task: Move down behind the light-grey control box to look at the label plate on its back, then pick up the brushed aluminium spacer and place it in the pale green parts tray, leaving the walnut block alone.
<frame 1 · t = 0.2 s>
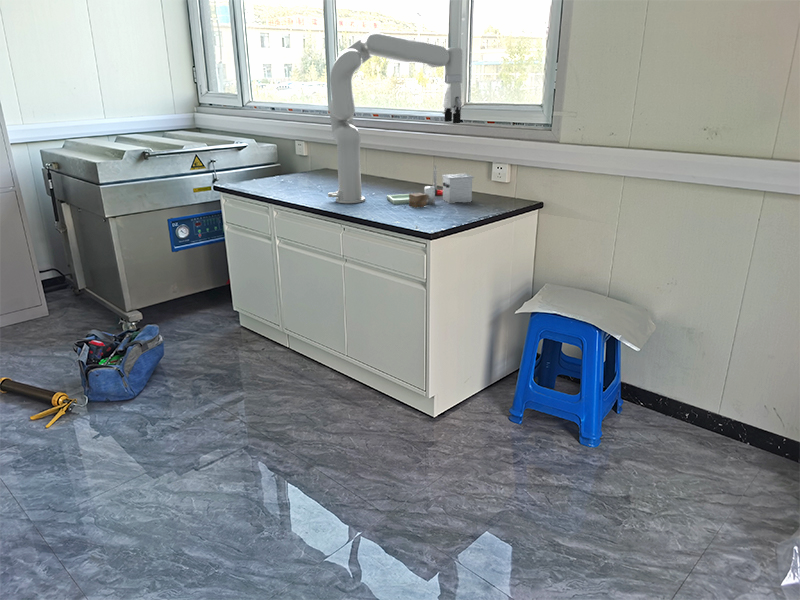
hand: (452, 122, 249), 31 cm above the counter, tool pointing down, fingers open, 9 cm apart
red base rod stand: (435, 193, 263), on the counter
walnut block: (417, 206, 238), on the counter
spacer: (429, 203, 242), on the counter
parts tray: (402, 201, 248), on the counter
control box: (456, 200, 247), on the counter
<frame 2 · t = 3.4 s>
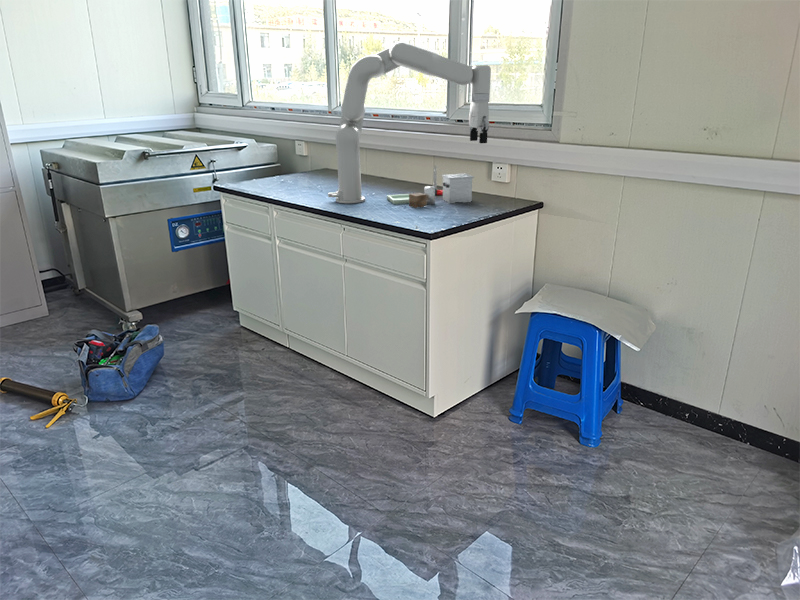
hand: (478, 141, 241), 24 cm above the counter, tool pointing down, fingers open, 9 cm apart
nothing on the counter moved.
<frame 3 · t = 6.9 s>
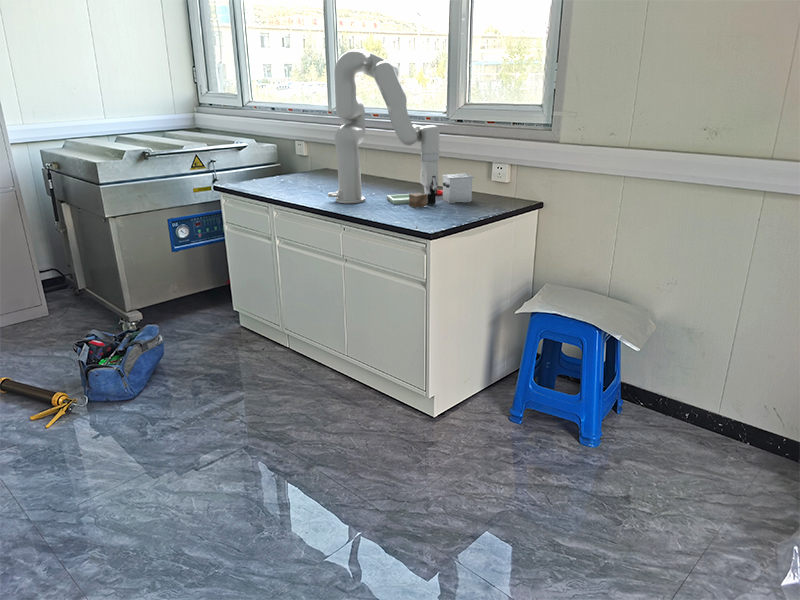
hand: (429, 201, 242), 1 cm above the counter, tool pointing down, fingers closed on spacer, 4 cm apart
spacer: (429, 203, 242), on the counter, touching gripper
everything else where it was.
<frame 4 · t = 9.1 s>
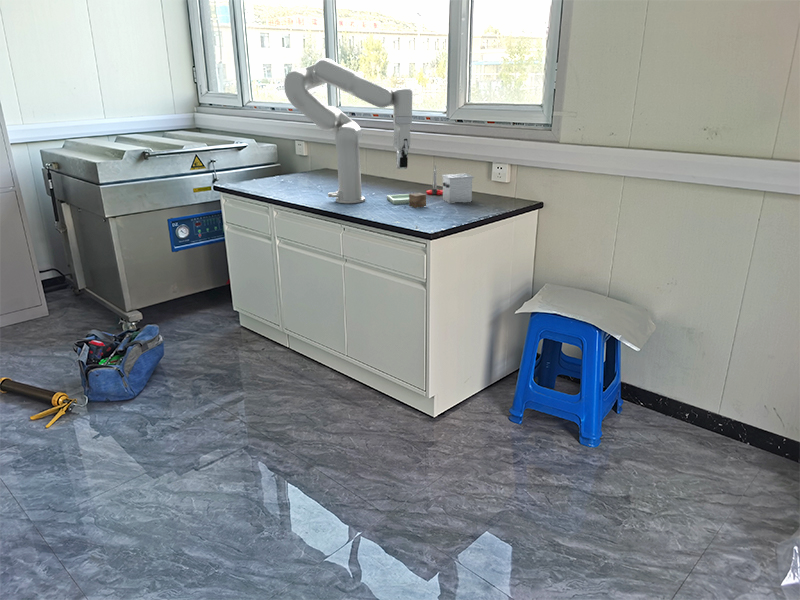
hand: (401, 165, 242), 15 cm above the counter, tool pointing down, fingers closed on spacer, 4 cm apart
spacer: (401, 167, 242), point 14 cm above the counter, touching gripper
everything else where it was.
when the fingers open (3 cm above the counter, at t = 11.7 s): spacer drops 2 cm, resting on parts tray.
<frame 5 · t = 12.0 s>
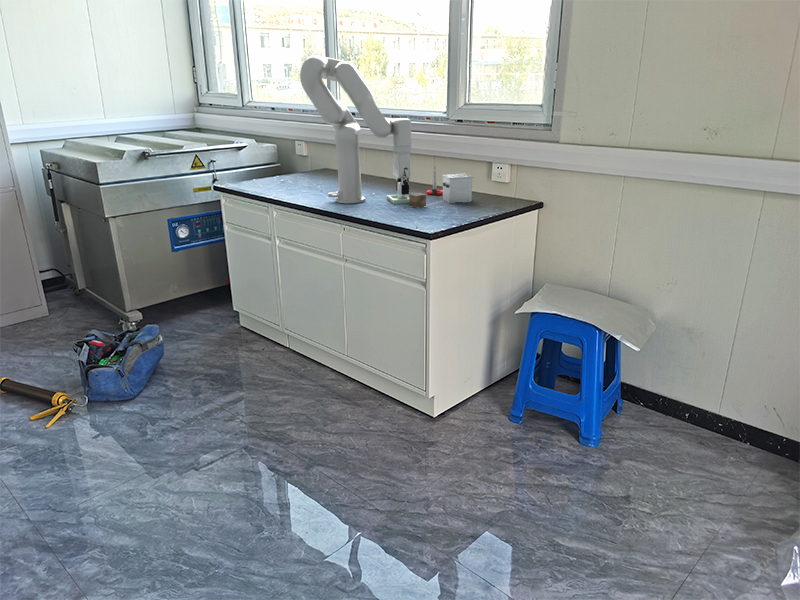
hand: (402, 192, 246), 4 cm above the counter, tool pointing down, fingers open, 7 cm apart
spacer: (402, 199, 247), point 1 cm above the counter, touching parts tray
everything else where it was.
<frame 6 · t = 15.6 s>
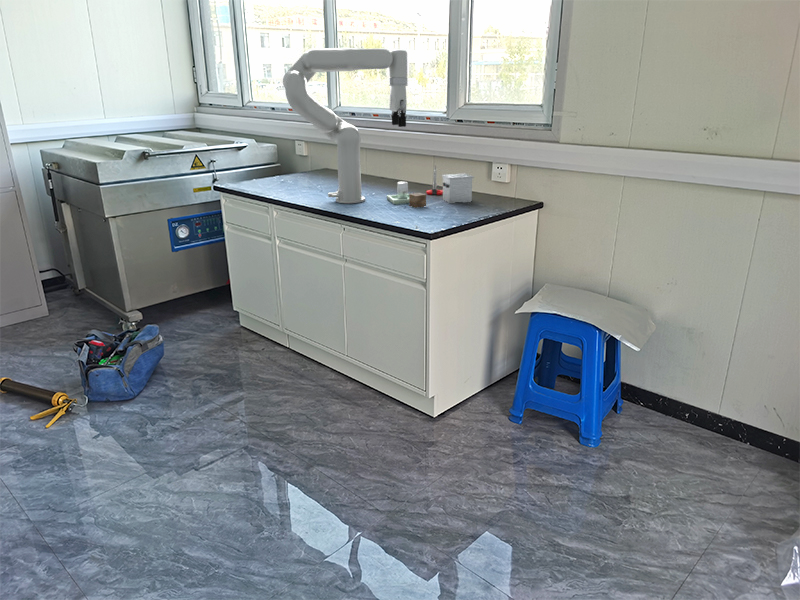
hand: (398, 125, 244), 30 cm above the counter, tool pointing down, fingers open, 9 cm apart
nothing on the counter moved.
at the end: spacer inside the target area on the parts tray (0.1 cm from its centre), point 0.9 cm above the parts tray's base; spacer tilted 1°; walnut block moved 0.1 cm from its start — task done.
